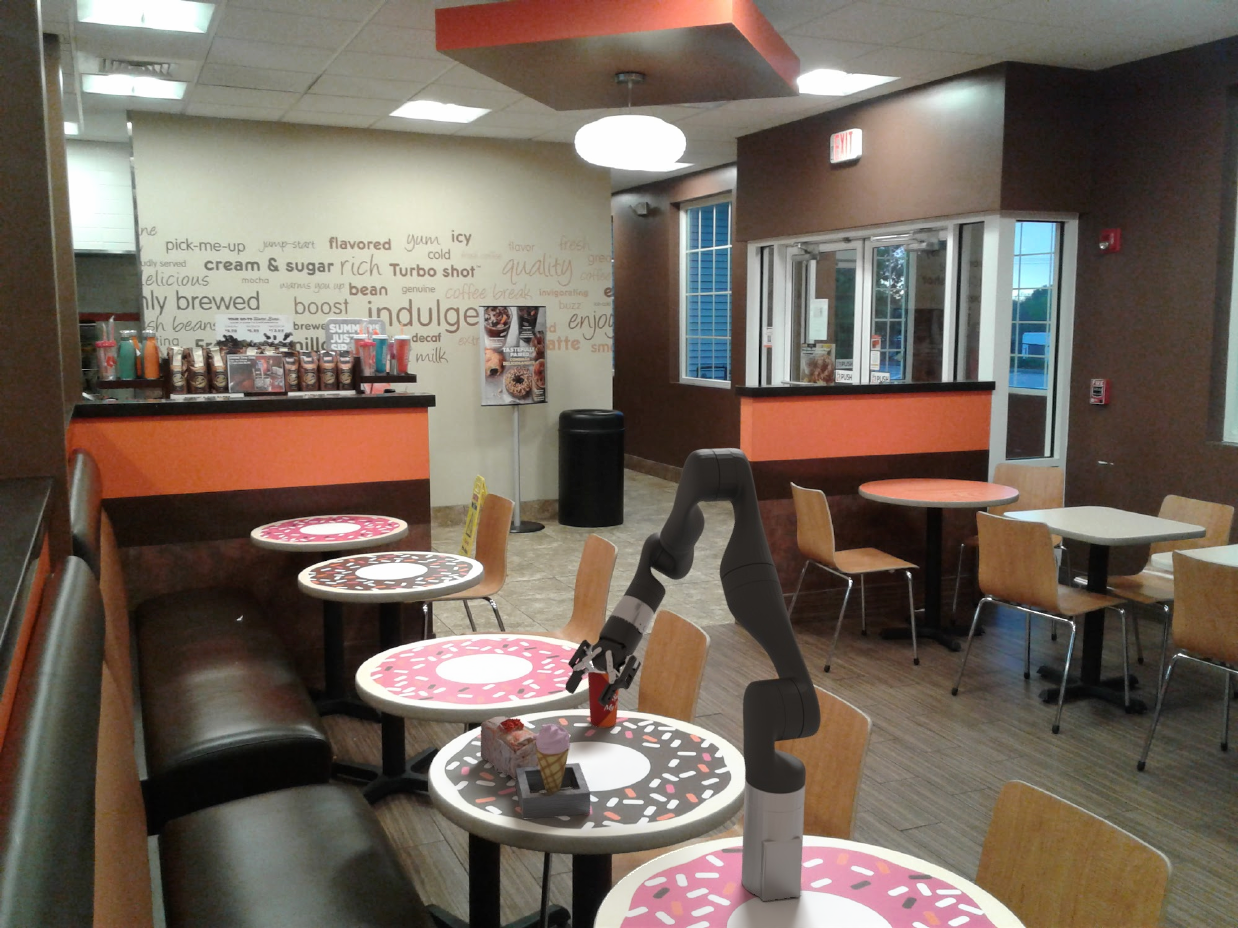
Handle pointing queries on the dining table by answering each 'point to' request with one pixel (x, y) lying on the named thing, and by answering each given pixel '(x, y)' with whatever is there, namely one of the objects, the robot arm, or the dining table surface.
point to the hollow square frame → (552, 793)
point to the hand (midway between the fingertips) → (584, 697)
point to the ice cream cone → (552, 754)
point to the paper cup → (599, 713)
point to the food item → (508, 745)
